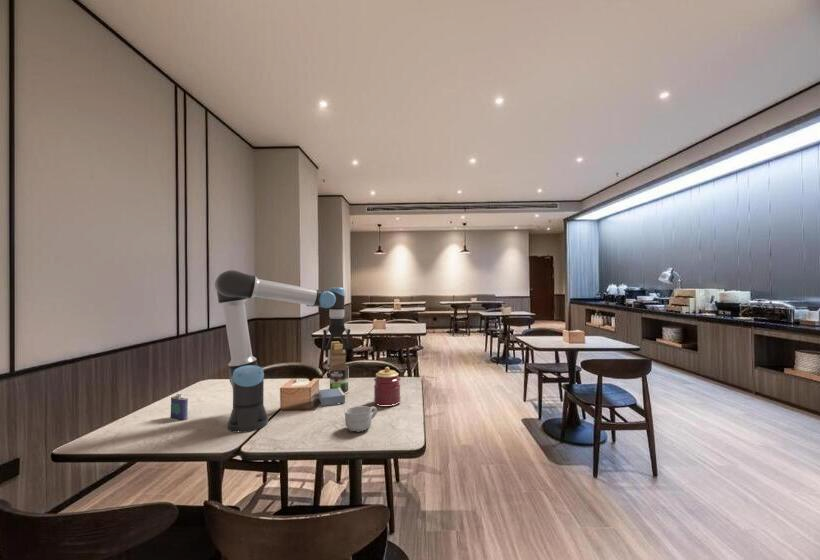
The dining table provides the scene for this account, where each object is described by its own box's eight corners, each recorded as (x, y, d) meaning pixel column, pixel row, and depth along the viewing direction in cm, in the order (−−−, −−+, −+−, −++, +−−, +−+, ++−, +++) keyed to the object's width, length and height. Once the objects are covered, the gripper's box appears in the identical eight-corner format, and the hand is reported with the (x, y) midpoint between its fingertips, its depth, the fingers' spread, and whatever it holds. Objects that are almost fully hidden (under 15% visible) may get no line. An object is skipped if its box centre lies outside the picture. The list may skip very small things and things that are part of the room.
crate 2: (342, 352, 177) (342, 344, 177) (334, 353, 176) (334, 345, 176) (341, 351, 181) (341, 343, 181) (333, 351, 179) (333, 343, 180)
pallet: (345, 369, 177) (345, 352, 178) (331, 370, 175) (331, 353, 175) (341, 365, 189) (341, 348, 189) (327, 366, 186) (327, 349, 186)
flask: (189, 418, 157) (189, 393, 157) (182, 421, 154) (182, 395, 154) (174, 416, 160) (174, 391, 160) (168, 418, 157) (168, 393, 158)
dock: (345, 403, 176) (345, 394, 176) (322, 406, 172) (322, 397, 172) (340, 395, 189) (340, 387, 189) (318, 398, 185) (318, 389, 185)
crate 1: (339, 350, 185) (339, 342, 185) (331, 350, 183) (332, 342, 183) (338, 349, 188) (338, 341, 188) (330, 349, 187) (330, 341, 187)
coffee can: (345, 395, 189) (345, 368, 190) (326, 394, 191) (326, 367, 191) (351, 389, 200) (351, 364, 200) (333, 389, 201) (333, 363, 202)
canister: (405, 401, 178) (405, 365, 179) (390, 409, 167) (390, 371, 168) (384, 397, 185) (384, 363, 186) (368, 404, 174) (368, 367, 175)
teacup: (349, 437, 136) (349, 415, 137) (341, 427, 146) (341, 407, 146) (383, 430, 143) (383, 409, 143) (373, 421, 152) (373, 402, 153)
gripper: (354, 316, 190) (354, 360, 189) (315, 317, 183) (315, 363, 182) (357, 317, 183) (357, 363, 182) (317, 318, 175) (316, 366, 175)
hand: (336, 363), depth 182 cm, fingers closed on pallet, 7 cm apart
